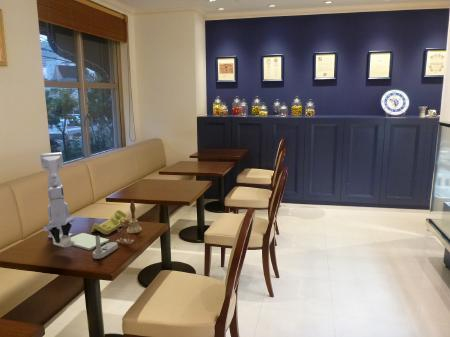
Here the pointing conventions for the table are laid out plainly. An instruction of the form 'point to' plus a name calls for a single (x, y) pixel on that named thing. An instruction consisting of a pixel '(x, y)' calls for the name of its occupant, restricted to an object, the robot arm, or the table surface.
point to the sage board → (86, 241)
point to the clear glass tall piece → (122, 240)
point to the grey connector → (64, 241)
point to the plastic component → (110, 223)
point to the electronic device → (103, 248)
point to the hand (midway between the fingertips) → (61, 241)
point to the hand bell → (133, 221)
